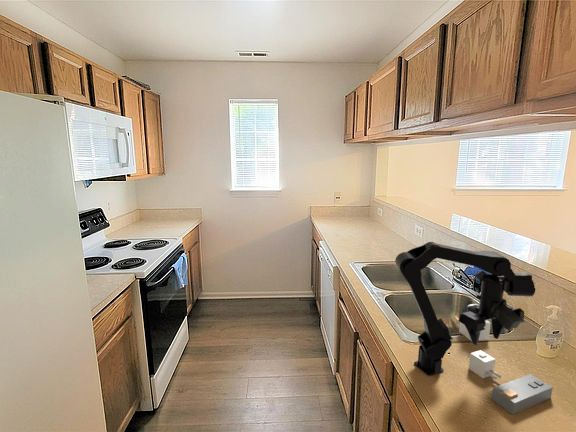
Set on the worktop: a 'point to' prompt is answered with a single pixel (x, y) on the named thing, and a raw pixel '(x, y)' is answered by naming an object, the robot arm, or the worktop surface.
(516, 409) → the power strip
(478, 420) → the worktop surface
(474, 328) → the robot arm
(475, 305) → the medicine bottle
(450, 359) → the worktop surface
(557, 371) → the worktop surface
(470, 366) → the charger
